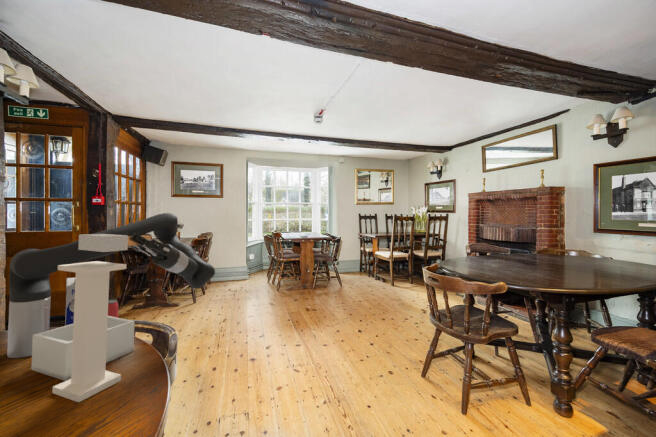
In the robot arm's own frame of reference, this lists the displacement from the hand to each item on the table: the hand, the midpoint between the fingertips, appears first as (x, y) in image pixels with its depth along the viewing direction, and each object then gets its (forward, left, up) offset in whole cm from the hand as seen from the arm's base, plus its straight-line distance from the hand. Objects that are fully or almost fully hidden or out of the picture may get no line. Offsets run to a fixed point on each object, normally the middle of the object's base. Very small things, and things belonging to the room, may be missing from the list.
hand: (129, 235), depth 83 cm
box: (-16, 0, -39) cm, 42 cm away
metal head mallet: (0, -2, -4) cm, 4 cm away
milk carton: (-46, +14, -40) cm, 62 cm away
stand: (0, -9, -39) cm, 40 cm away
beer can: (-32, +16, -40) cm, 53 cm away
